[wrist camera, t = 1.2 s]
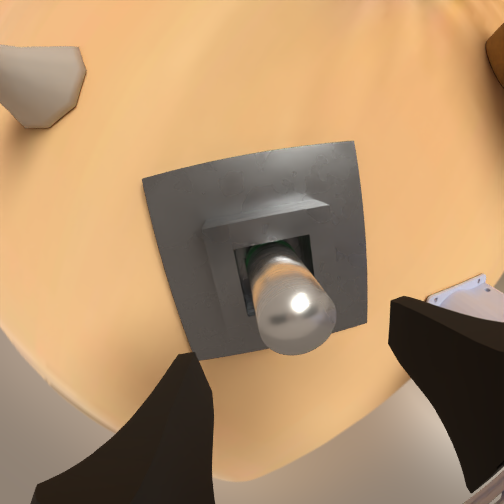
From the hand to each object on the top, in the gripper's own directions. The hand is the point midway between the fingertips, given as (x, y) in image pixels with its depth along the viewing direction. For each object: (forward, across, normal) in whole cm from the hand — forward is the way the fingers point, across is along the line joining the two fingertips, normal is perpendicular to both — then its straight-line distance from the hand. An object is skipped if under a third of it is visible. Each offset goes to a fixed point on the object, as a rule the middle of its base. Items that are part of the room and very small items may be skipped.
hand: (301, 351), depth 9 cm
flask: (+11, +13, -17) cm, 24 cm away
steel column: (+9, 0, 0) cm, 9 cm away
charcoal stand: (+11, 0, 0) cm, 11 cm away
